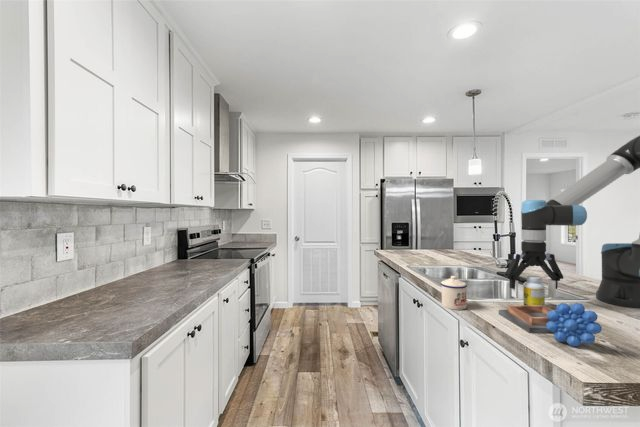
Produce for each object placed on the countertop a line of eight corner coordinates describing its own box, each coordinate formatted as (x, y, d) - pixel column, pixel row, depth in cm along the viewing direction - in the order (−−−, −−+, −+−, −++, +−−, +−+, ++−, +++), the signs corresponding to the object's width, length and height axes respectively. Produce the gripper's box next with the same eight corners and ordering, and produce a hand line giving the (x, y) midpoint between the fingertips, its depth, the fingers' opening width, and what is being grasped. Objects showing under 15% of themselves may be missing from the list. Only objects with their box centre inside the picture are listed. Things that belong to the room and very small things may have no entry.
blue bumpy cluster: (605, 349, 76) (605, 304, 76) (599, 357, 72) (599, 309, 72) (551, 334, 86) (551, 294, 86) (543, 340, 82) (542, 298, 82)
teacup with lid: (457, 312, 106) (457, 280, 105) (436, 305, 113) (435, 275, 113) (476, 306, 112) (476, 276, 112) (455, 300, 120) (454, 271, 119)
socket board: (544, 313, 103) (544, 303, 102) (584, 333, 87) (584, 320, 87) (498, 313, 103) (498, 303, 103) (529, 333, 87) (529, 320, 87)
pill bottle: (525, 303, 114) (525, 273, 114) (546, 307, 109) (545, 276, 109) (521, 307, 110) (521, 276, 109) (543, 311, 105) (542, 279, 105)
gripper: (559, 239, 113) (559, 294, 113) (494, 240, 113) (494, 294, 114) (576, 242, 105) (575, 300, 105) (505, 242, 106) (505, 300, 106)
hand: (533, 297), depth 110 cm, fingers open, 13 cm apart
